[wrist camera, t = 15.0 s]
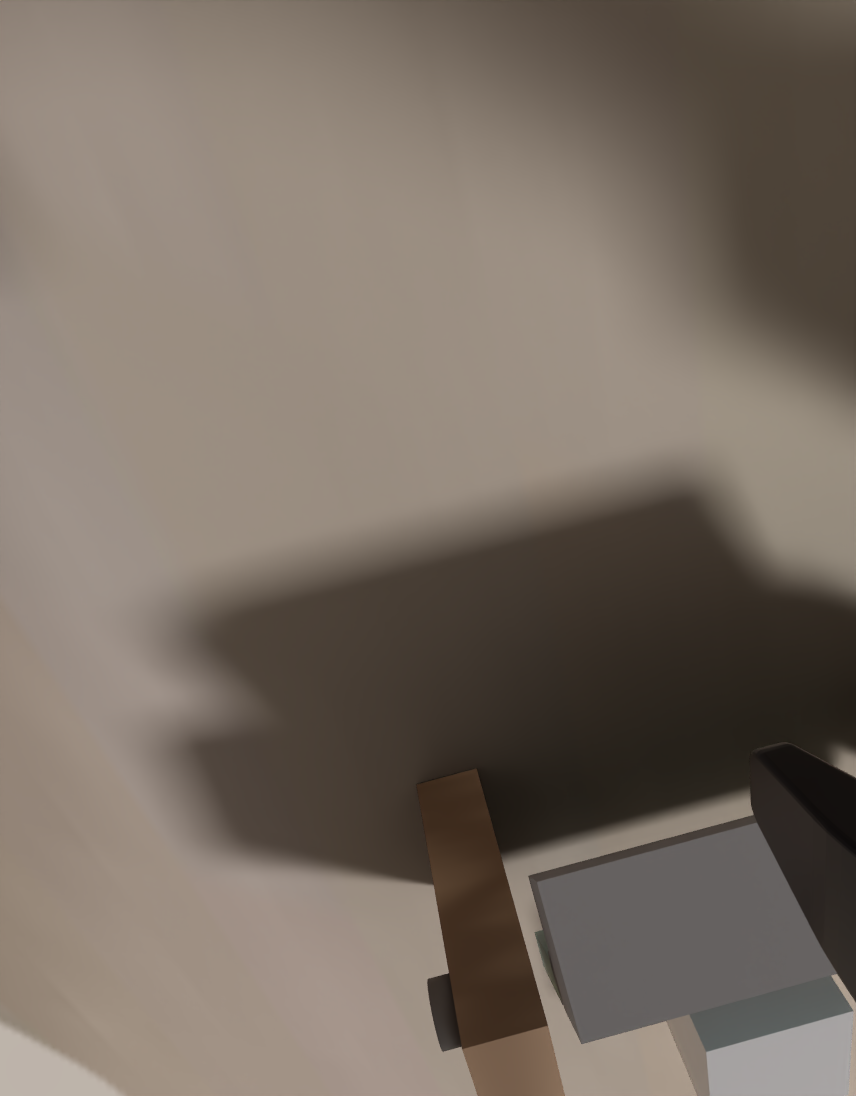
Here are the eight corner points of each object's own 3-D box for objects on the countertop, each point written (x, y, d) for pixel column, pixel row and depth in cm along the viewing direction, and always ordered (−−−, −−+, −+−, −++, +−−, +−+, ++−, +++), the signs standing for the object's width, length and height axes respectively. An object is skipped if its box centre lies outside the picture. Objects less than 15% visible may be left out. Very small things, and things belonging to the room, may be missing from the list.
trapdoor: (1154, 715, 17) (1240, 862, 16) (904, 763, 27) (947, 855, 26) (536, 881, 16) (581, 1043, 15) (517, 867, 26) (543, 965, 25)
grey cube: (848, 1094, 28) (774, 966, 32) (853, 1010, 26) (772, 885, 30) (713, 1132, 28) (657, 999, 32) (706, 1052, 26) (646, 919, 30)
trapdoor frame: (985, 633, 26) (1264, 828, 18) (969, 747, 28) (1212, 963, 21) (398, 789, 25) (436, 1056, 18) (430, 893, 28) (477, 1168, 20)
